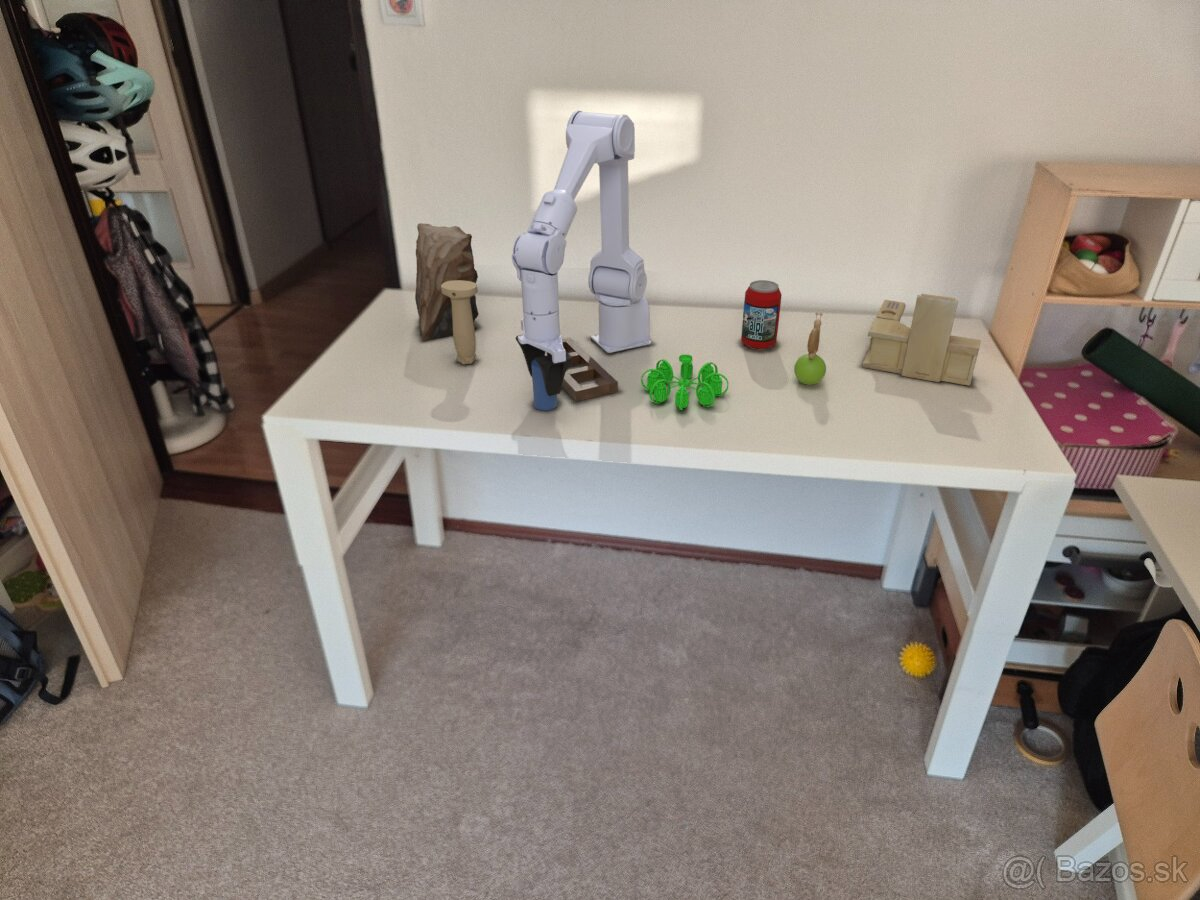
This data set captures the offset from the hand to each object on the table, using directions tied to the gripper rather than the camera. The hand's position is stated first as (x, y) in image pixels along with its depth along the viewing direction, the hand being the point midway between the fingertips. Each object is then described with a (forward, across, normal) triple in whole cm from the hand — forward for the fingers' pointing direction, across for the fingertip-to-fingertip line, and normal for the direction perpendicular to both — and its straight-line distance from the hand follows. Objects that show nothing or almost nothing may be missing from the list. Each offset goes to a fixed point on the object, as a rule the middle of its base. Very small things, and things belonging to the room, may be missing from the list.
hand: (544, 384), depth 140 cm
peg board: (+4, -9, +9) cm, 13 cm away
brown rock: (+4, -39, -7) cm, 40 cm away
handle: (+4, -22, -7) cm, 23 cm away
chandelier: (+4, +7, +23) cm, 24 cm away
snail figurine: (+4, +13, +45) cm, 47 cm away
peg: (+4, 0, 0) cm, 4 cm away
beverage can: (+4, -4, +46) cm, 46 cm away
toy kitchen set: (+4, +15, +69) cm, 71 cm away
